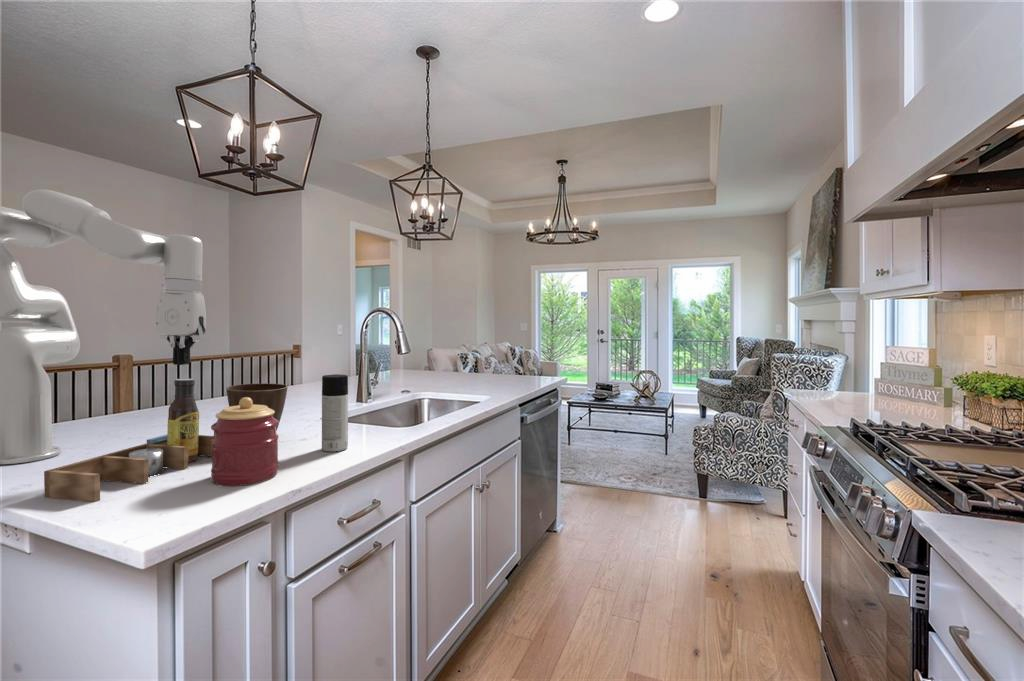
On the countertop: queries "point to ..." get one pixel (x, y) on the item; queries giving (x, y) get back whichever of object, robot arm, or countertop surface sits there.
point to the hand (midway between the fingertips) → (181, 364)
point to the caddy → (115, 469)
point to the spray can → (334, 412)
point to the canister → (244, 444)
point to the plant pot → (260, 396)
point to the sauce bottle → (184, 418)
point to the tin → (151, 459)
